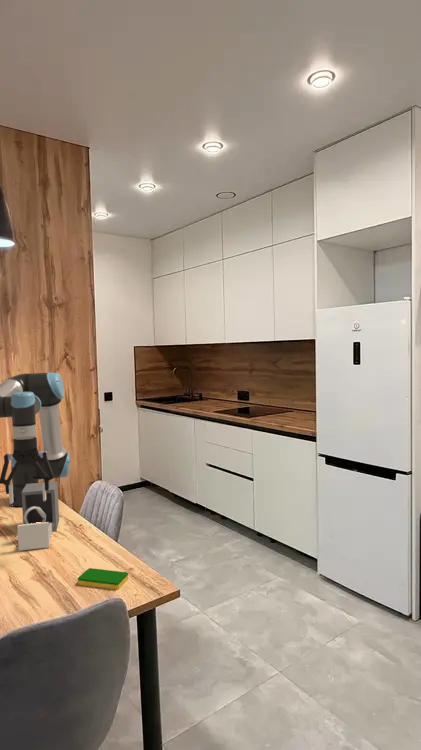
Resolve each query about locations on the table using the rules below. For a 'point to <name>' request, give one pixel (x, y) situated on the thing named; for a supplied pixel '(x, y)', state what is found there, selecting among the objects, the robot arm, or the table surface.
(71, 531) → the table surface
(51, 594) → the table surface
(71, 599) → the table surface
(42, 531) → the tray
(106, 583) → the dish sponge
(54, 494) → the cabinet
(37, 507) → the watch
